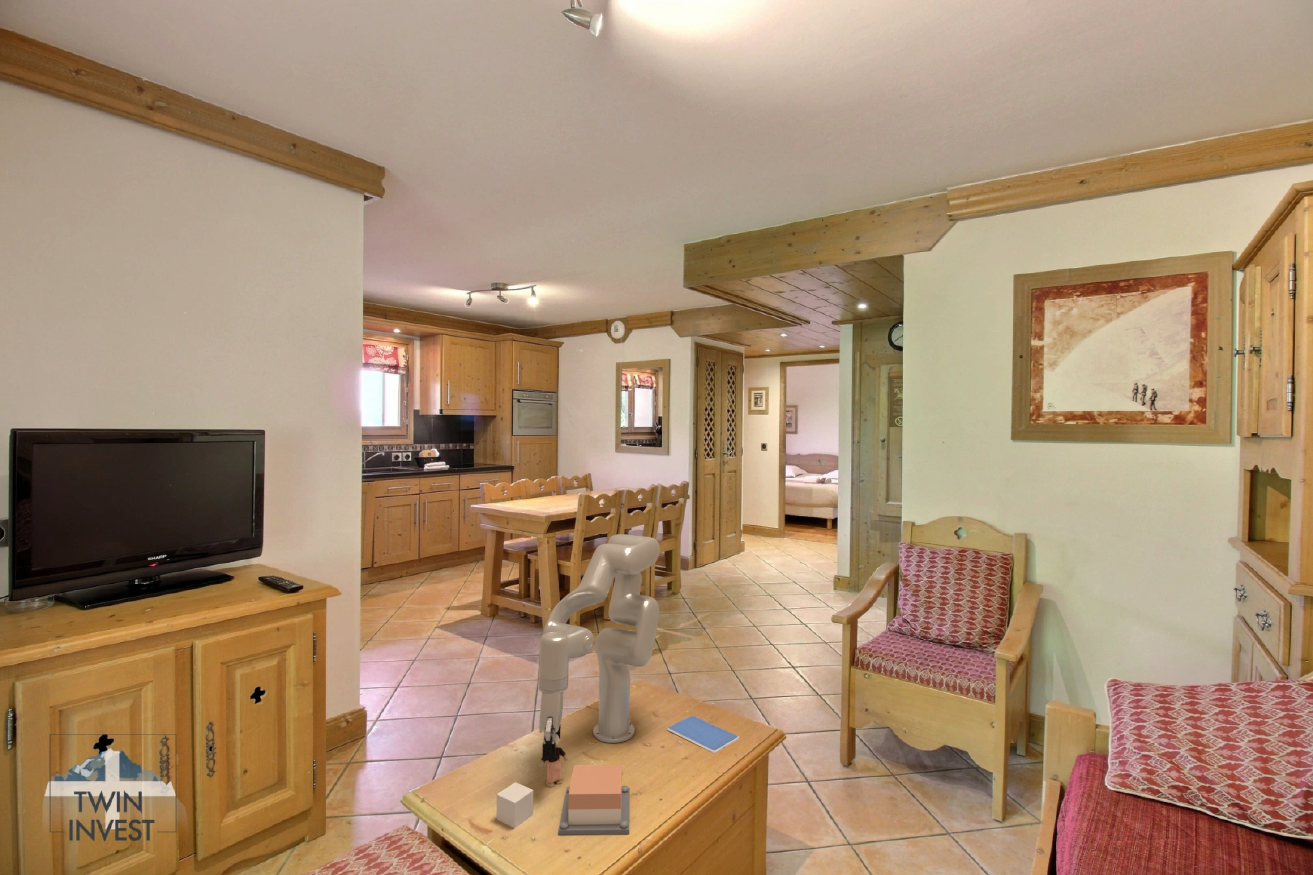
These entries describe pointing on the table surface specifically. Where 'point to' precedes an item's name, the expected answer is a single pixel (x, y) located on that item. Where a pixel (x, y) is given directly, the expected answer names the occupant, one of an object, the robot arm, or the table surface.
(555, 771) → the grandmother figurine
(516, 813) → the white cube
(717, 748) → the tablet computer
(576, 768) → the pink framed box
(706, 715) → the table surface
